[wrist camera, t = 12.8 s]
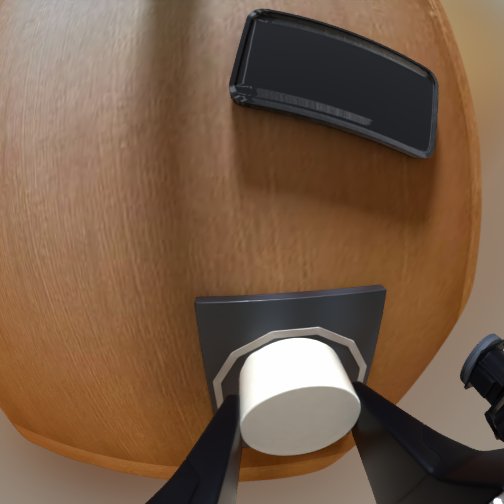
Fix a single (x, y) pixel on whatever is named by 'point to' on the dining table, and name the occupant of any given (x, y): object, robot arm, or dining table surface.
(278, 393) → the cream round box
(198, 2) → the dining table surface
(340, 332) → the slate
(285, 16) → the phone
